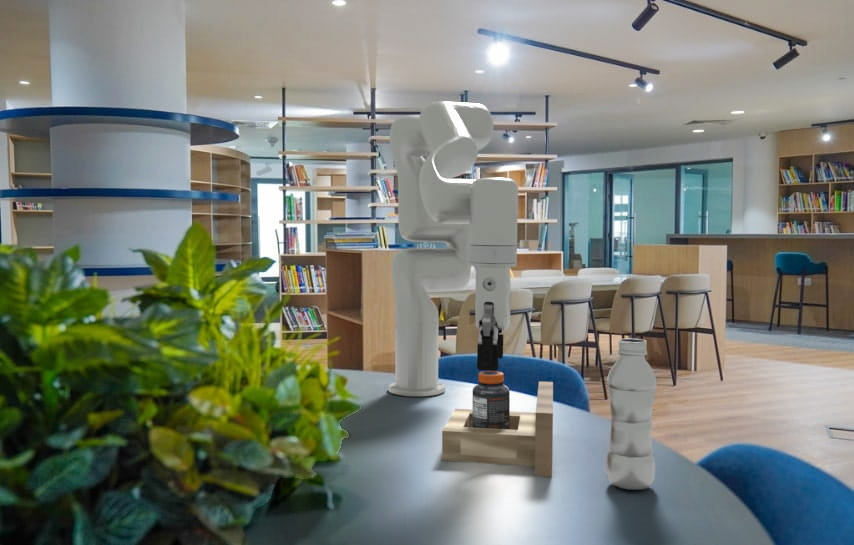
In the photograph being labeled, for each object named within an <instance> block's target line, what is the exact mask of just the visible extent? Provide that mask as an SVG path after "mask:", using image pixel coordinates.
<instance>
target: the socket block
mask: <svg viewBox="0 0 854 545" xmlns="http://www.w3.org/2000/svg"><path fill="white" fill-rule="evenodd" d="M509 416H510V417H509V418H510V420H509V422H510V426H509V427H510V428H509V429H491V428H473V427H472V425H473V424H472V423H473V422H472V409H471V408H470V409H469V408H455V409H454V410H453V412H452V413H451V415H450V417H449V419H448V420H447V422H446V424H445V425H444V427H443V429H442V431H441V432H442V433H441V434H442V435H441V445H442V446H441V460H442V461H449V462H464V463H479V464H480V463H481V464H494V465H495V464H496V465H510V466H525V467H526V466H527V467H535V425H536V412H530V411H529V412H528V411H526V412H525V411H510V415H509Z"/></svg>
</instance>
